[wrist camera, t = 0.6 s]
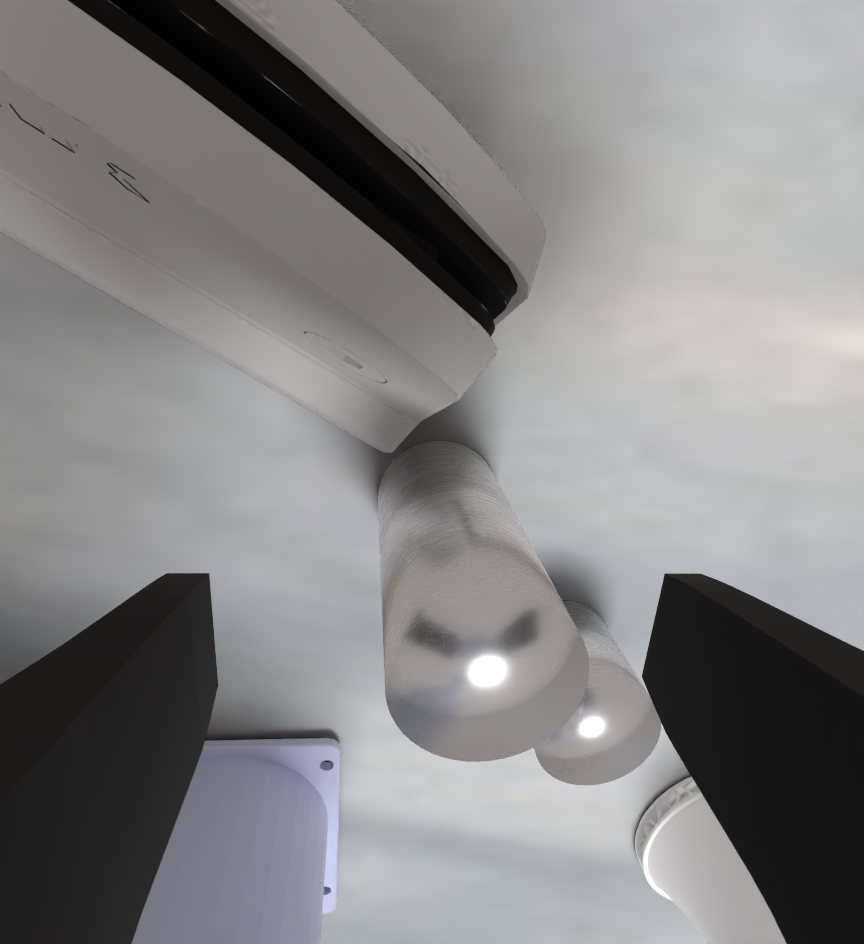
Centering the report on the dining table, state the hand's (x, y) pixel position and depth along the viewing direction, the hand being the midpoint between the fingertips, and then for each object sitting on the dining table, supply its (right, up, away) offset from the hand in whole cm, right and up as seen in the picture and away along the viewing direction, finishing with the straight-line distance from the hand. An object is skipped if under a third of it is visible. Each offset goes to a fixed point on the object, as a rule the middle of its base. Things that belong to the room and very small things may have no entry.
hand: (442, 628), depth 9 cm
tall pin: (0, +2, +10) cm, 11 cm away
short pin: (+5, -4, +13) cm, 15 cm away
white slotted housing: (-6, +10, +7) cm, 14 cm away
